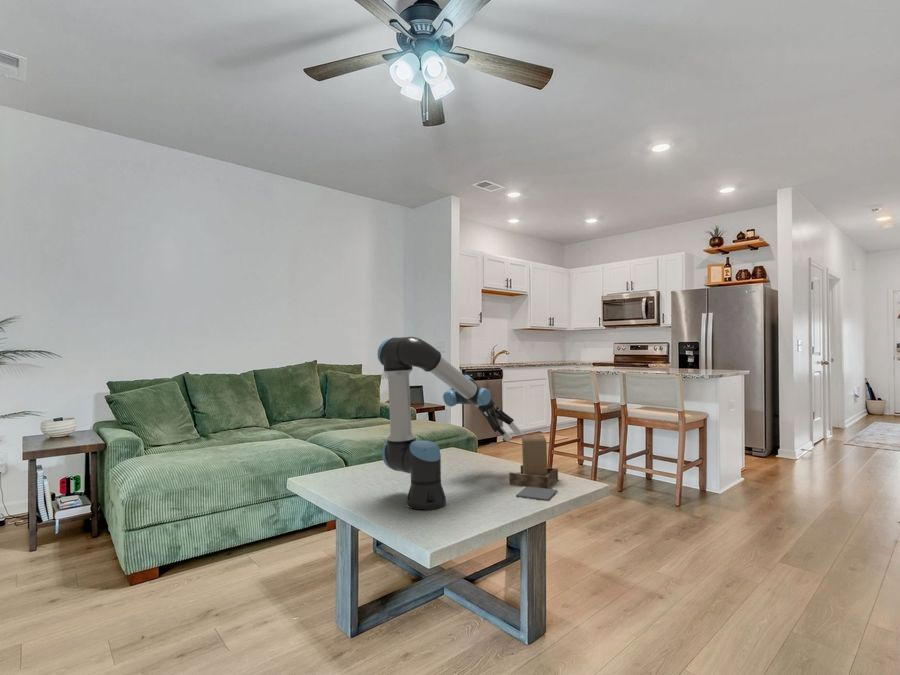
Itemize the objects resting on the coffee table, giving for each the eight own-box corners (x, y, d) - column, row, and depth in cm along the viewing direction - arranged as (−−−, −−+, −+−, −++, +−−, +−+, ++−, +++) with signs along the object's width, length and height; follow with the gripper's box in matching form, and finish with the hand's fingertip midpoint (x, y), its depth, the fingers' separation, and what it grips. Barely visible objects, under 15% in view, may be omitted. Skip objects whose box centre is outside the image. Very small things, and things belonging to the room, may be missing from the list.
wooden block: (545, 479, 212) (544, 434, 213) (548, 485, 202) (546, 438, 203) (523, 479, 213) (521, 434, 214) (524, 485, 203) (522, 439, 204)
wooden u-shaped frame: (509, 484, 205) (509, 473, 205) (521, 476, 219) (521, 465, 219) (547, 489, 197) (547, 477, 197) (558, 479, 211) (557, 468, 211)
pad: (516, 497, 188) (516, 495, 188) (526, 488, 200) (526, 486, 200) (548, 501, 182) (548, 499, 182) (557, 491, 194) (557, 489, 194)
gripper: (477, 399, 208) (510, 436, 200) (498, 394, 230) (529, 426, 222) (466, 411, 210) (499, 448, 203) (489, 404, 232) (519, 437, 225)
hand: (515, 437), depth 213 cm, fingers open, 13 cm apart
